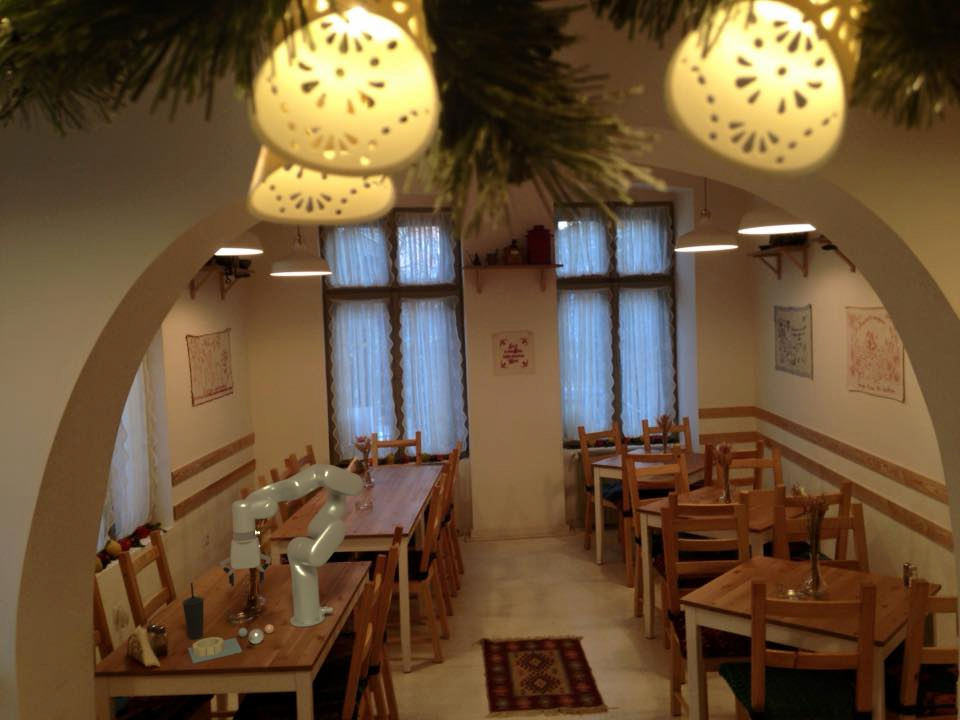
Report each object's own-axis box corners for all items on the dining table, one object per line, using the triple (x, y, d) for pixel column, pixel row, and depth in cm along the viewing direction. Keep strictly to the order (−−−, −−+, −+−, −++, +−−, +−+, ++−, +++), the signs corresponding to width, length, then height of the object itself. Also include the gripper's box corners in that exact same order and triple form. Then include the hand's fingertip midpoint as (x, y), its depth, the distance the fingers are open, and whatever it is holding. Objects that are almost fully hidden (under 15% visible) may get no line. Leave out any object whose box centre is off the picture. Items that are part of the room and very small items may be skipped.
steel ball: (262, 639, 295) (261, 625, 294) (265, 644, 290) (264, 630, 290) (248, 642, 293) (246, 628, 292) (250, 647, 288) (249, 633, 288)
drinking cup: (188, 643, 295) (184, 588, 294) (182, 637, 302) (177, 583, 300) (209, 637, 300) (205, 582, 299) (203, 631, 306) (198, 578, 305)
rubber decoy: (246, 634, 300) (246, 625, 300) (248, 637, 297) (247, 628, 297) (237, 636, 299) (237, 627, 299) (239, 639, 296) (238, 630, 296)
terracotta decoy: (273, 630, 302) (272, 622, 302) (275, 633, 300) (274, 625, 299) (264, 632, 301) (263, 624, 301) (266, 635, 298) (265, 626, 298)
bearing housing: (235, 640, 295) (234, 631, 295) (241, 652, 284) (240, 642, 284) (188, 650, 288) (187, 641, 288) (192, 663, 277) (192, 653, 277)
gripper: (270, 530, 297) (272, 578, 297) (219, 535, 293) (222, 583, 293) (269, 535, 289) (272, 584, 290) (217, 540, 285) (220, 589, 286)
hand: (246, 583), depth 292 cm, fingers open, 9 cm apart
